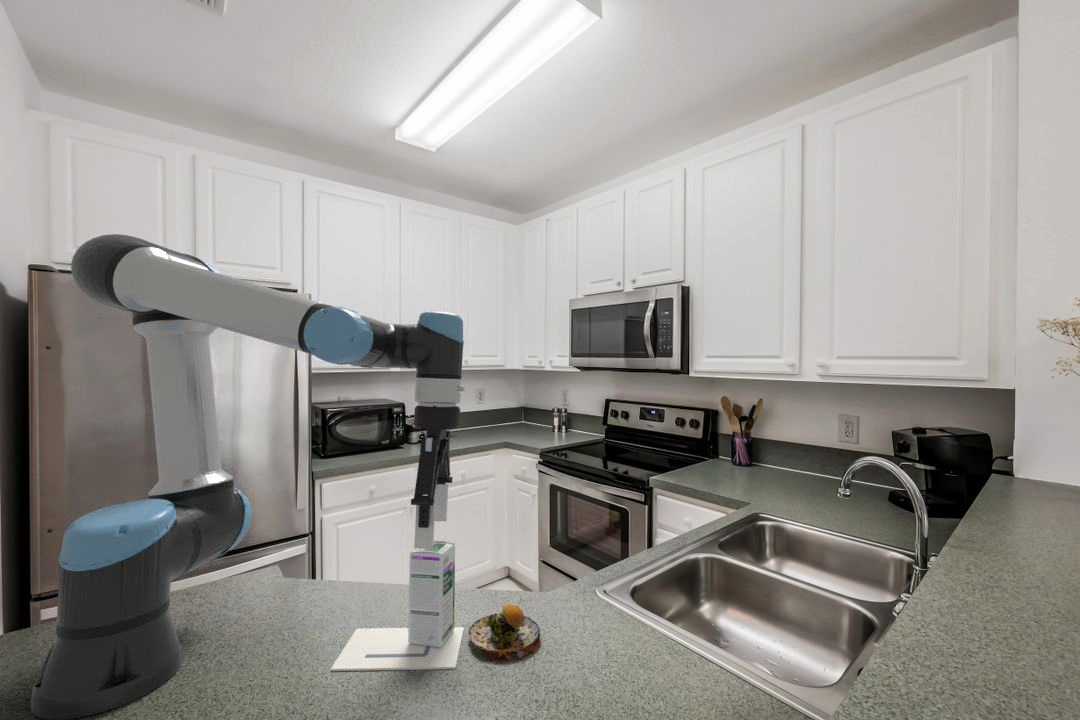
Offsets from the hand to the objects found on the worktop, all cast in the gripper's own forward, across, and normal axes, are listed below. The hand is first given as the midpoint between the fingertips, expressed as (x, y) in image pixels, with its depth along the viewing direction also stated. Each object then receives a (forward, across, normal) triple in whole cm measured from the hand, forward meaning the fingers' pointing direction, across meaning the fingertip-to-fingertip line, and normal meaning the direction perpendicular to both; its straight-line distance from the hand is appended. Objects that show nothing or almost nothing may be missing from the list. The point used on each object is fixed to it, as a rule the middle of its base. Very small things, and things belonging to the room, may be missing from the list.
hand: (431, 533), depth 76 cm
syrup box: (+17, 0, -1) cm, 17 cm away
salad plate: (+17, -1, -13) cm, 21 cm away
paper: (+17, -3, +3) cm, 18 cm away
